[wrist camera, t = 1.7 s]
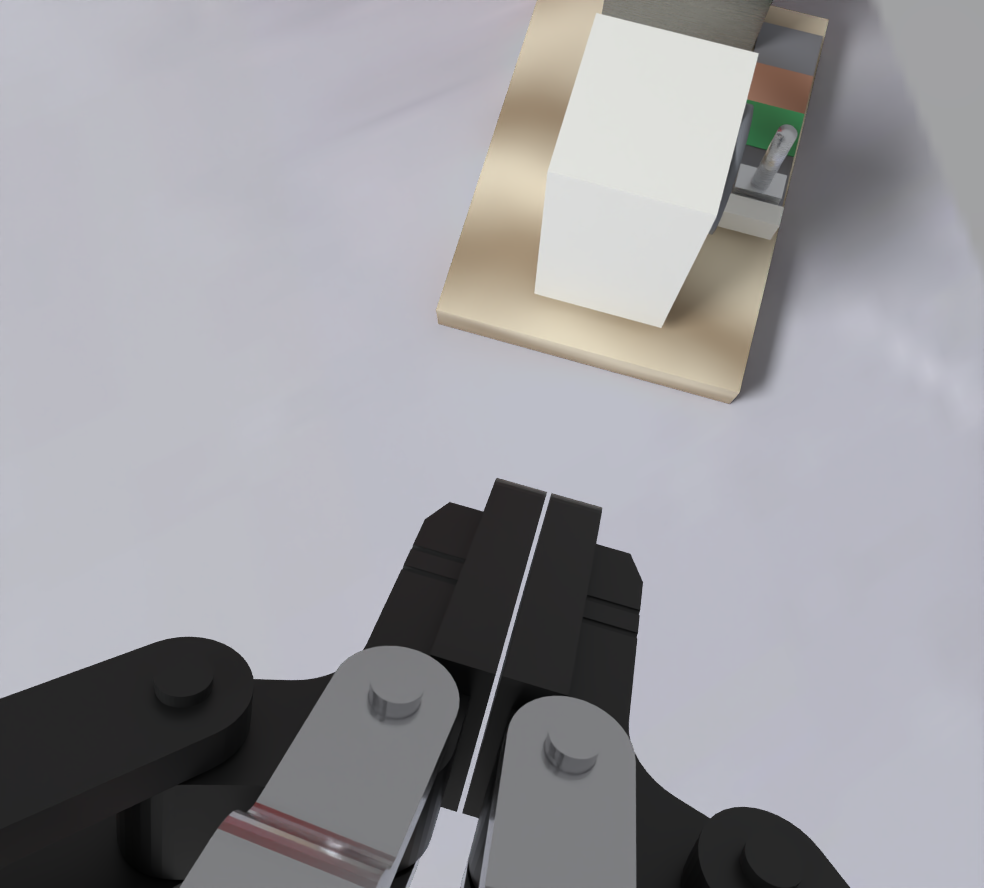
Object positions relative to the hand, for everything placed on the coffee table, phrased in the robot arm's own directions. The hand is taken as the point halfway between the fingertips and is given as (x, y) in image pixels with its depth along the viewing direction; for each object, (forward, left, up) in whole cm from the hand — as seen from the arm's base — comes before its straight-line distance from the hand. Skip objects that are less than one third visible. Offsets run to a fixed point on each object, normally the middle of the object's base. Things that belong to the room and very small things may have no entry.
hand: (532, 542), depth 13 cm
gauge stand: (-9, +16, -22) cm, 29 cm away
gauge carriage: (-6, +14, -20) cm, 26 cm away
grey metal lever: (-5, +18, -20) cm, 28 cm away
